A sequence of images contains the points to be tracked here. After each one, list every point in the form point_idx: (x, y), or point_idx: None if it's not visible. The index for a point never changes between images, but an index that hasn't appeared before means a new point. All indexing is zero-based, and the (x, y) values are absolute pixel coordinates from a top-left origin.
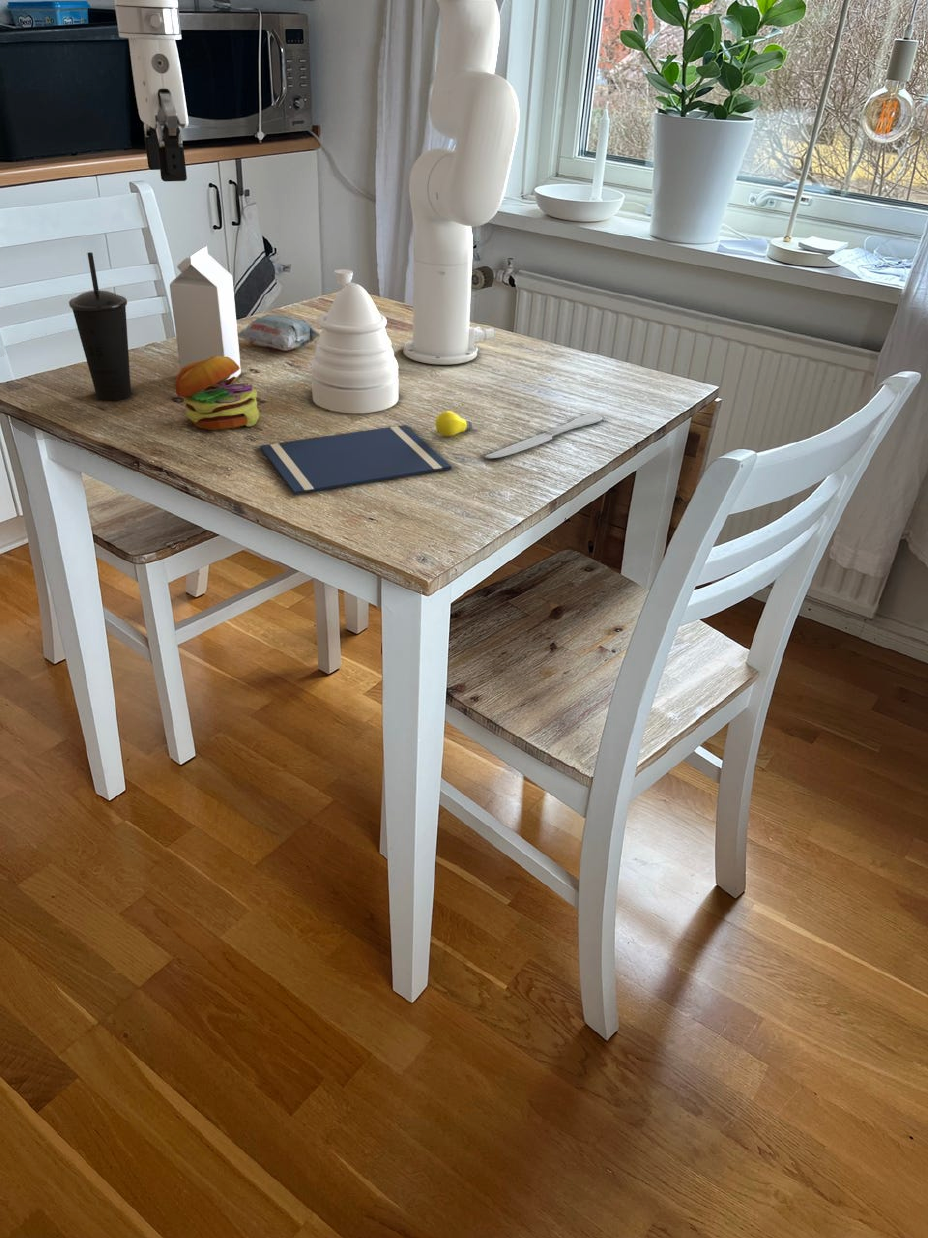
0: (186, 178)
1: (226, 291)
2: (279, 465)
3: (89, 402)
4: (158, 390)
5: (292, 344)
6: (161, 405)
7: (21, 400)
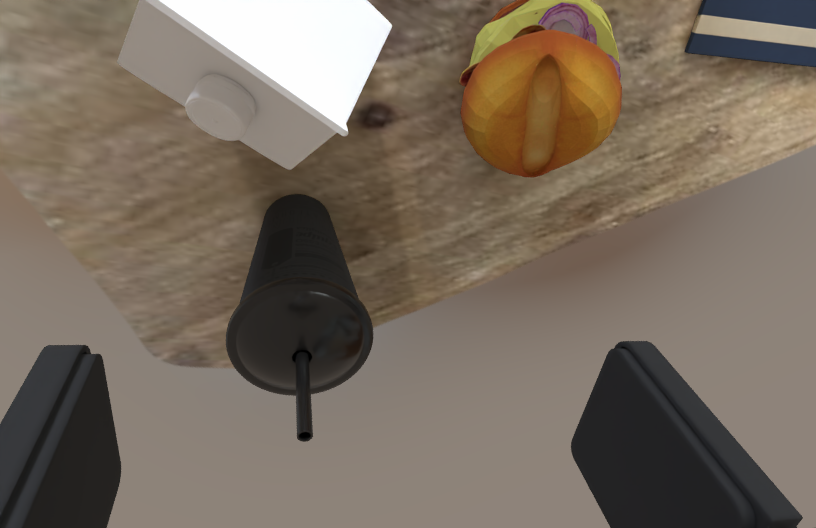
0: (648, 343)
1: None
2: (774, 54)
3: None
4: None
5: None
6: (391, 155)
7: None
